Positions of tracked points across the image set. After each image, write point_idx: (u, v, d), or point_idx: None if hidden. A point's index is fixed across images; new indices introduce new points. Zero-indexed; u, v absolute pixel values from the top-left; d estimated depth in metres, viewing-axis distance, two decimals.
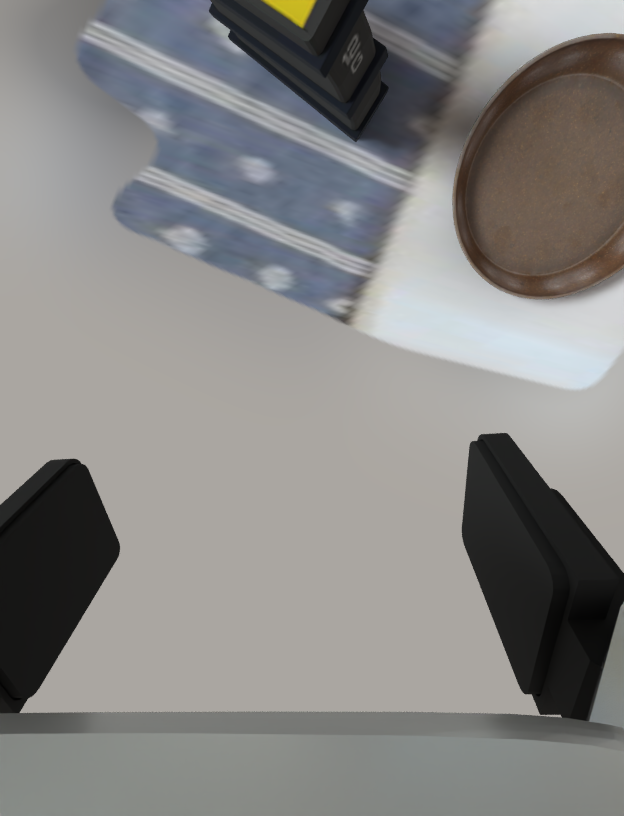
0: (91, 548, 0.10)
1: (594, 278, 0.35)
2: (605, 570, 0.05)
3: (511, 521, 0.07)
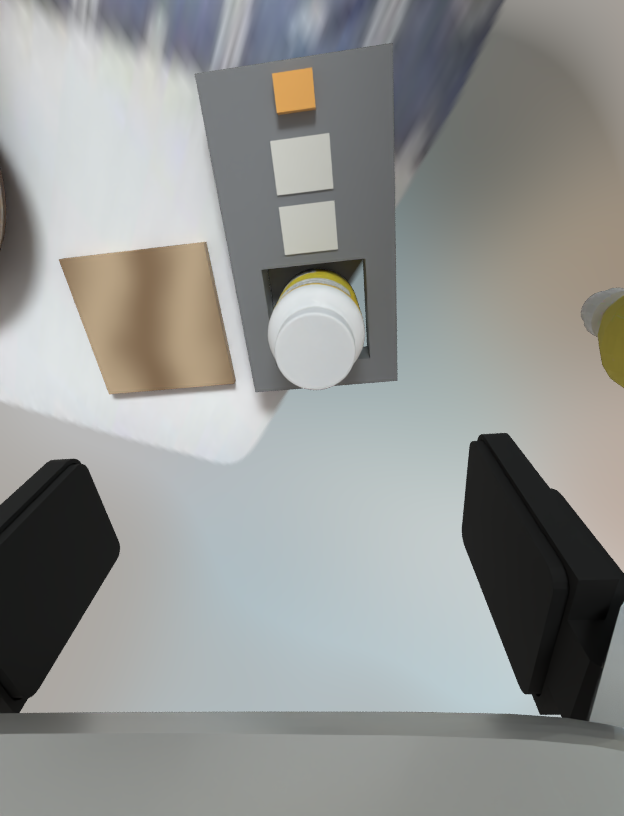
0: (91, 548, 0.10)
1: None
2: (604, 570, 0.05)
3: (511, 521, 0.07)
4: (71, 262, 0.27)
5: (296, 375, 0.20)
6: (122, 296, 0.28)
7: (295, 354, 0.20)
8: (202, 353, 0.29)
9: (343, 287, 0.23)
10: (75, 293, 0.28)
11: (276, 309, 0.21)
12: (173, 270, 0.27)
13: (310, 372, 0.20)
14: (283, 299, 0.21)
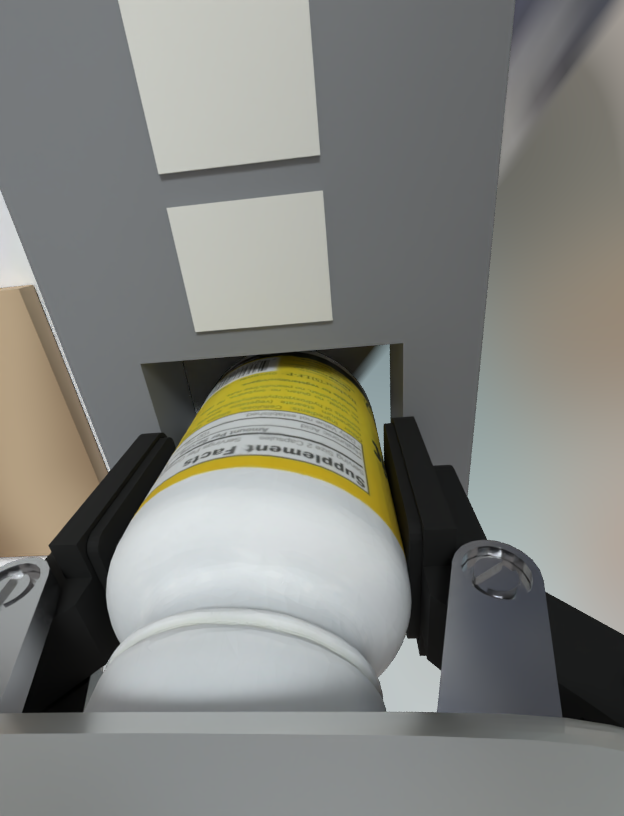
0: None
1: None
2: (448, 522, 0.06)
3: (397, 489, 0.08)
4: None
5: None
6: None
7: None
8: (57, 501, 0.15)
9: (345, 441, 0.08)
10: None
11: (119, 551, 0.06)
12: None
13: None
14: (142, 521, 0.06)
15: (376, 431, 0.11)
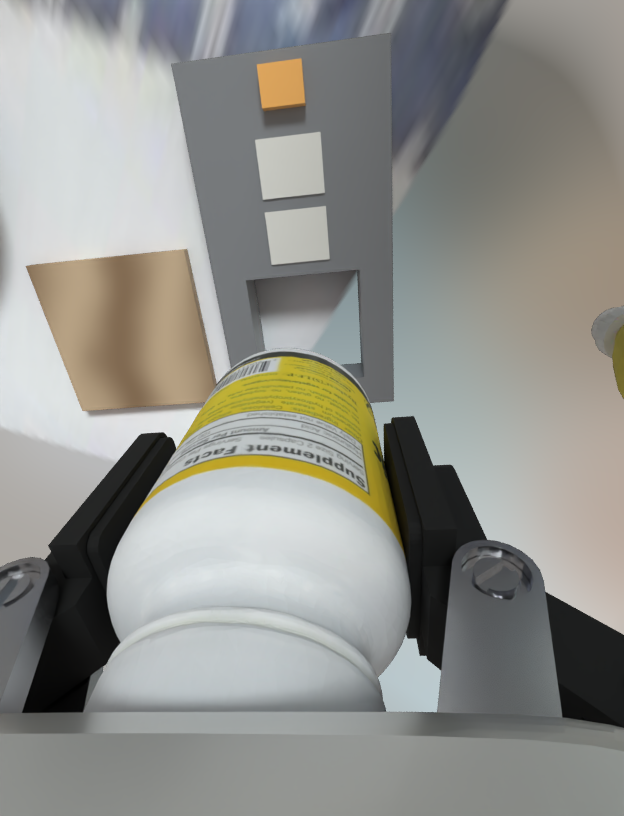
0: None
1: None
2: (448, 522, 0.06)
3: (397, 489, 0.08)
4: (39, 269, 0.25)
5: None
6: (95, 306, 0.26)
7: None
8: (182, 368, 0.27)
9: (345, 441, 0.08)
10: (44, 302, 0.26)
11: (120, 550, 0.06)
12: (151, 279, 0.25)
13: None
14: (143, 520, 0.06)
15: (376, 432, 0.11)
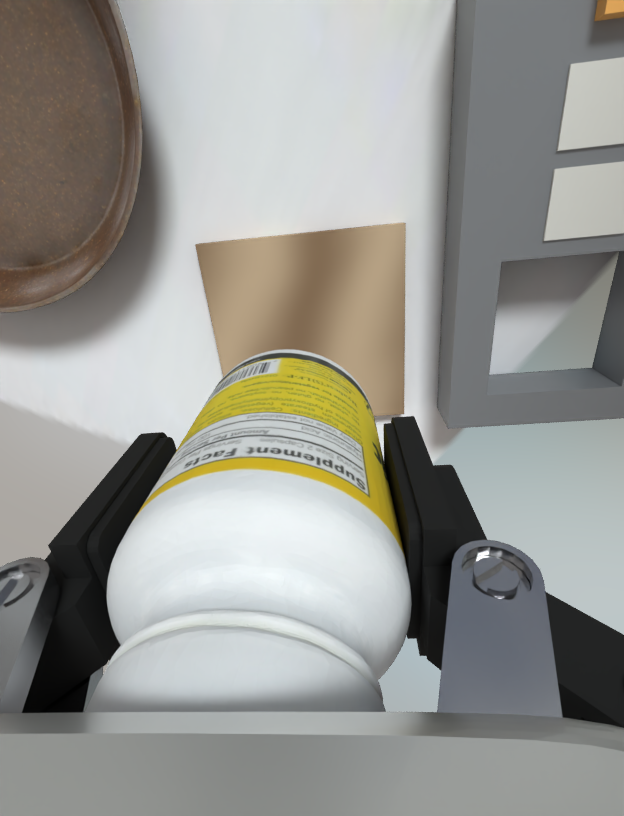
0: None
1: None
2: (448, 522, 0.06)
3: (397, 489, 0.08)
4: (212, 249, 0.19)
5: None
6: (275, 297, 0.20)
7: None
8: (369, 374, 0.22)
9: (345, 443, 0.08)
10: (210, 292, 0.20)
11: (119, 553, 0.06)
12: (354, 262, 0.19)
13: None
14: (143, 522, 0.06)
15: (376, 433, 0.11)
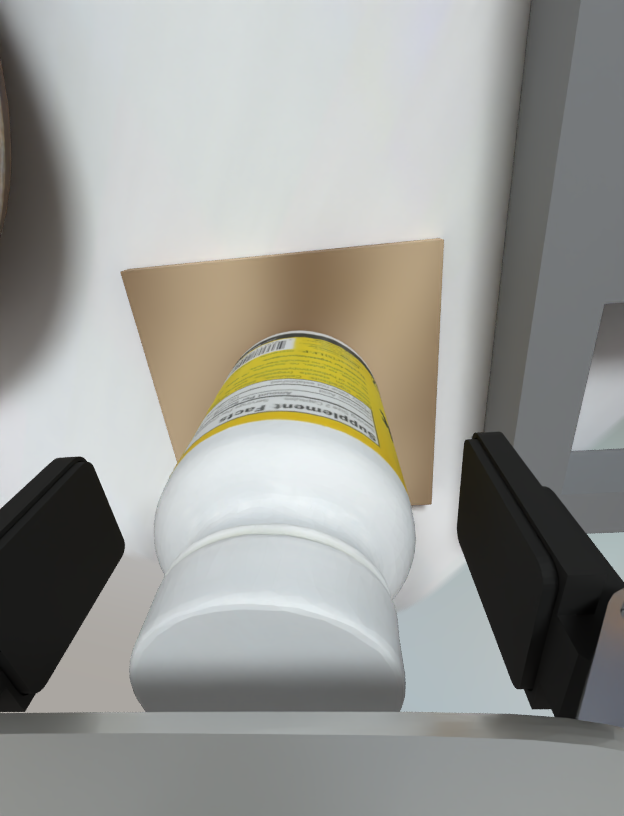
0: (97, 545, 0.10)
1: None
2: (594, 565, 0.05)
3: (503, 518, 0.07)
4: (146, 278, 0.13)
5: None
6: (245, 347, 0.14)
7: (201, 694, 0.06)
8: None
9: (357, 405, 0.09)
10: (148, 340, 0.14)
11: (168, 490, 0.07)
12: (363, 297, 0.13)
13: None
14: (188, 464, 0.07)
15: (382, 405, 0.12)
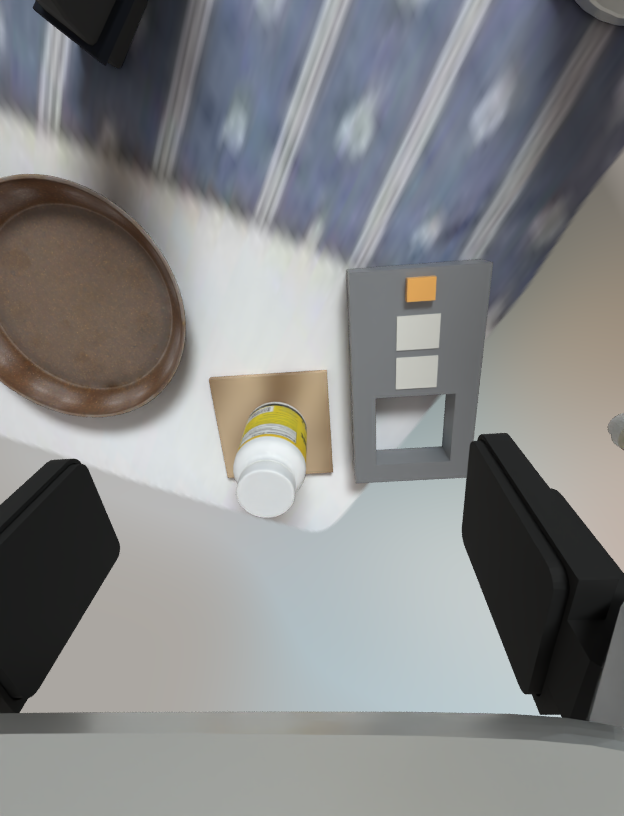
0: (91, 548, 0.10)
1: None
2: (605, 570, 0.05)
3: (511, 521, 0.07)
4: (218, 382, 0.34)
5: (252, 508, 0.27)
6: (254, 407, 0.35)
7: (251, 495, 0.27)
8: (311, 449, 0.37)
9: (291, 431, 0.30)
10: (216, 403, 0.35)
11: (239, 454, 0.29)
12: (299, 390, 0.34)
13: (262, 506, 0.27)
14: (245, 447, 0.29)
15: (304, 430, 0.33)
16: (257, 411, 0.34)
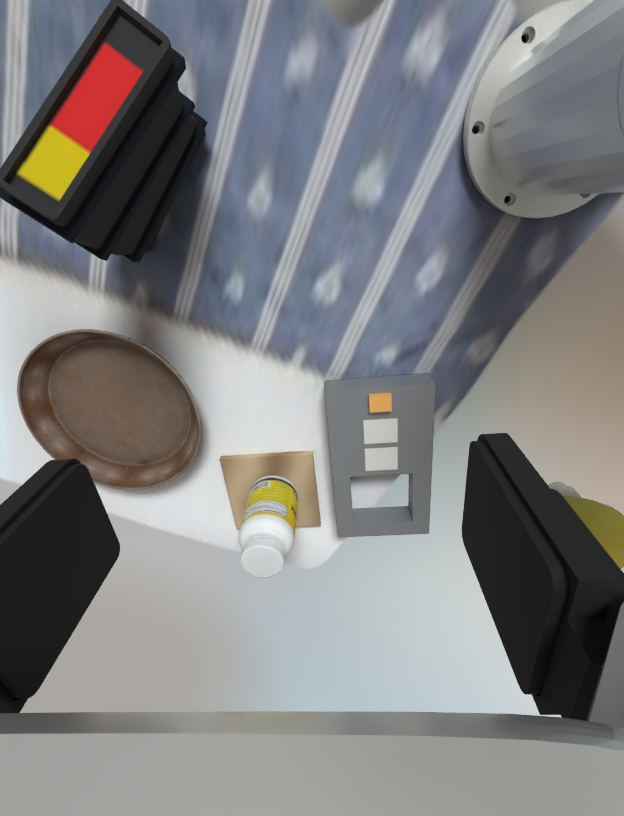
0: (91, 548, 0.10)
1: (56, 452, 0.42)
2: (605, 570, 0.05)
3: (511, 521, 0.07)
4: (227, 461, 0.43)
5: (252, 571, 0.37)
6: (256, 478, 0.44)
7: (251, 562, 0.36)
8: (302, 509, 0.46)
9: (283, 507, 0.40)
10: (226, 476, 0.44)
11: (242, 528, 0.38)
12: (291, 466, 0.43)
13: (260, 570, 0.37)
14: (247, 523, 0.38)
15: (295, 500, 0.42)
16: (258, 484, 0.43)
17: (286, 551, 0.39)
